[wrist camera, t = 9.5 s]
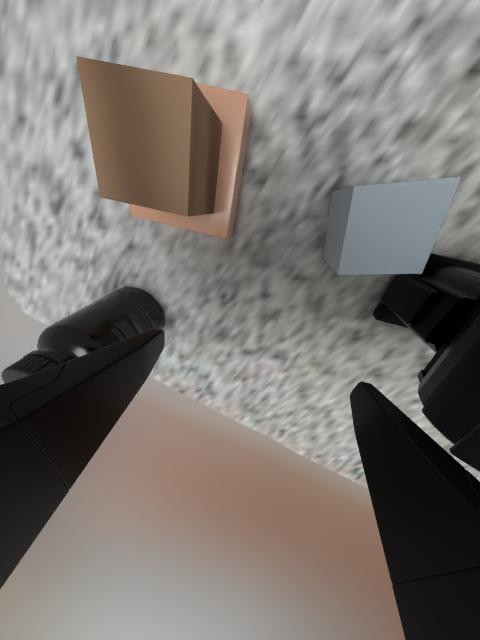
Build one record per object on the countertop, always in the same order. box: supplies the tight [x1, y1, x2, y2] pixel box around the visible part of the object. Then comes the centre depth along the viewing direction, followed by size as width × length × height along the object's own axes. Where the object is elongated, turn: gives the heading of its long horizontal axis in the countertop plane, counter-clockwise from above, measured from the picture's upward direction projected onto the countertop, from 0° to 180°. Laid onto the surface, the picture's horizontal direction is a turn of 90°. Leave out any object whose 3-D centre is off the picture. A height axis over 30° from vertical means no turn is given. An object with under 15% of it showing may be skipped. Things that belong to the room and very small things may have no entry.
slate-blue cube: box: [323, 177, 461, 275], centre depth 14 cm, size 5×5×5 cm
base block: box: [130, 83, 252, 239], centre depth 15 cm, size 8×8×3 cm
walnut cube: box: [76, 56, 222, 217], centre depth 11 cm, size 5×5×5 cm
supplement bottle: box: [2, 288, 163, 383], centre depth 19 cm, size 7×7×12 cm
